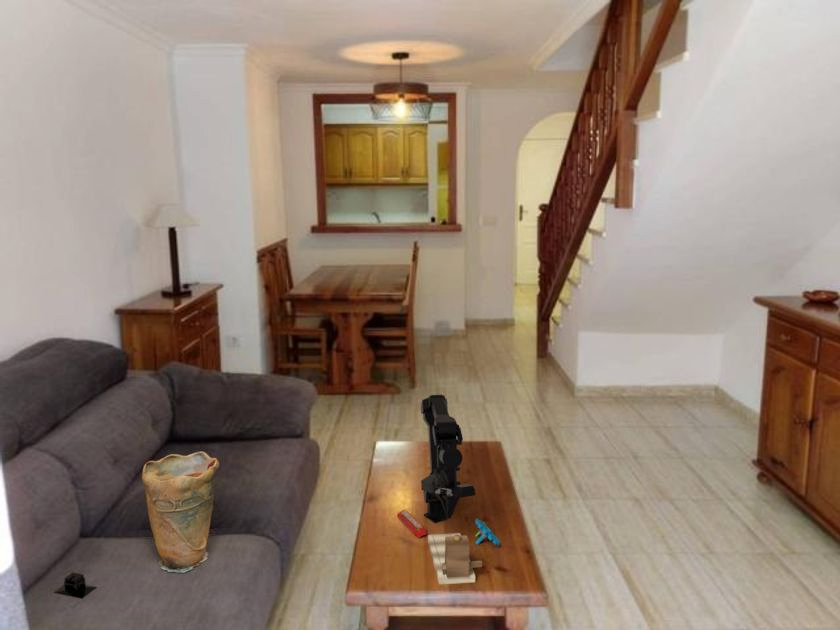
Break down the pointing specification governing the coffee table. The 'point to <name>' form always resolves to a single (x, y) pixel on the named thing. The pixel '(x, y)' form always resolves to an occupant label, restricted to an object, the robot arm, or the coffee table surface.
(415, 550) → the coffee table surface
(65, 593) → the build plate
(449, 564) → the tan knobbed block
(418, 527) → the candy bar
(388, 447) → the coffee table surface
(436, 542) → the pine board
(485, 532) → the gear
